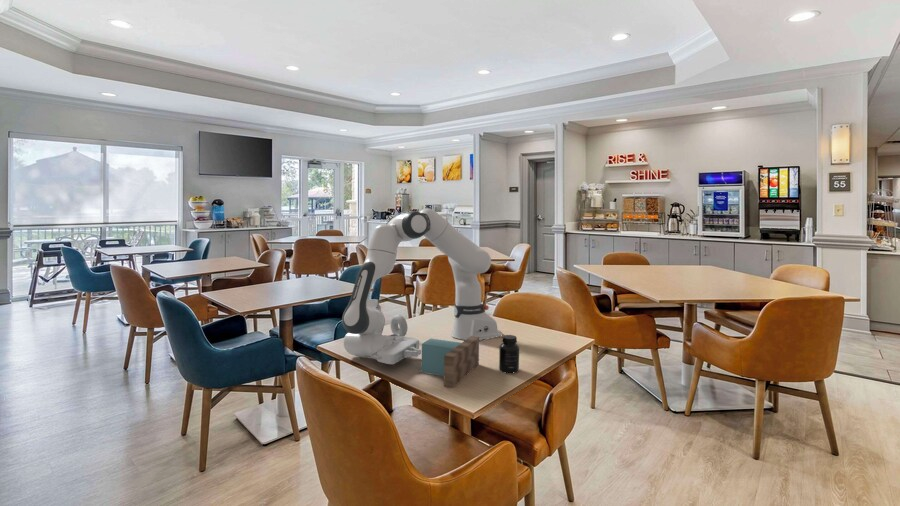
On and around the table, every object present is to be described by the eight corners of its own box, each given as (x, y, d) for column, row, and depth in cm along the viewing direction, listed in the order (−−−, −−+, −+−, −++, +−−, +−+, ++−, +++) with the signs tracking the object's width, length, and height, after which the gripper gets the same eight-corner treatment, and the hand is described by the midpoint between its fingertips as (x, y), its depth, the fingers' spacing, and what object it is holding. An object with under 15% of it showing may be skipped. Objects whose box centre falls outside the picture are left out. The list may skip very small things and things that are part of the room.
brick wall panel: (470, 363, 168) (471, 336, 167) (478, 364, 167) (479, 337, 166) (443, 386, 146) (444, 355, 145) (452, 388, 145) (453, 356, 144)
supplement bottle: (497, 367, 165) (498, 333, 163) (516, 366, 165) (517, 333, 164) (501, 374, 158) (501, 339, 156) (520, 373, 158) (521, 339, 157)
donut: (388, 335, 202) (388, 313, 201) (395, 334, 204) (395, 312, 203) (402, 341, 194) (402, 317, 193) (409, 339, 197) (409, 316, 196)
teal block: (421, 372, 159) (421, 343, 158) (430, 365, 165) (430, 338, 164) (454, 377, 154) (454, 348, 153) (461, 371, 160) (462, 342, 159)
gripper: (368, 347, 158) (405, 353, 153) (398, 332, 177) (431, 337, 171) (369, 365, 159) (404, 371, 153) (398, 348, 177) (431, 353, 172)
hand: (419, 353), depth 162 cm, fingers closed
